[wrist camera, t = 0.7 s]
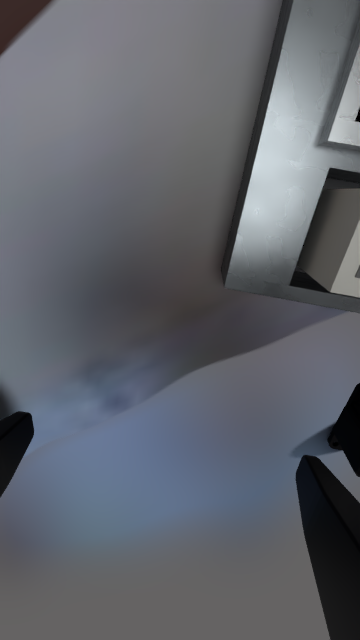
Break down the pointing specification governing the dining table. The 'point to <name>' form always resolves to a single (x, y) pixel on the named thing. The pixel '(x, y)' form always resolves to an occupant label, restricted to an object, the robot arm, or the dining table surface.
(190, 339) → the dining table surface
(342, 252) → the on key
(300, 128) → the grey flat box
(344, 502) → the robot arm
